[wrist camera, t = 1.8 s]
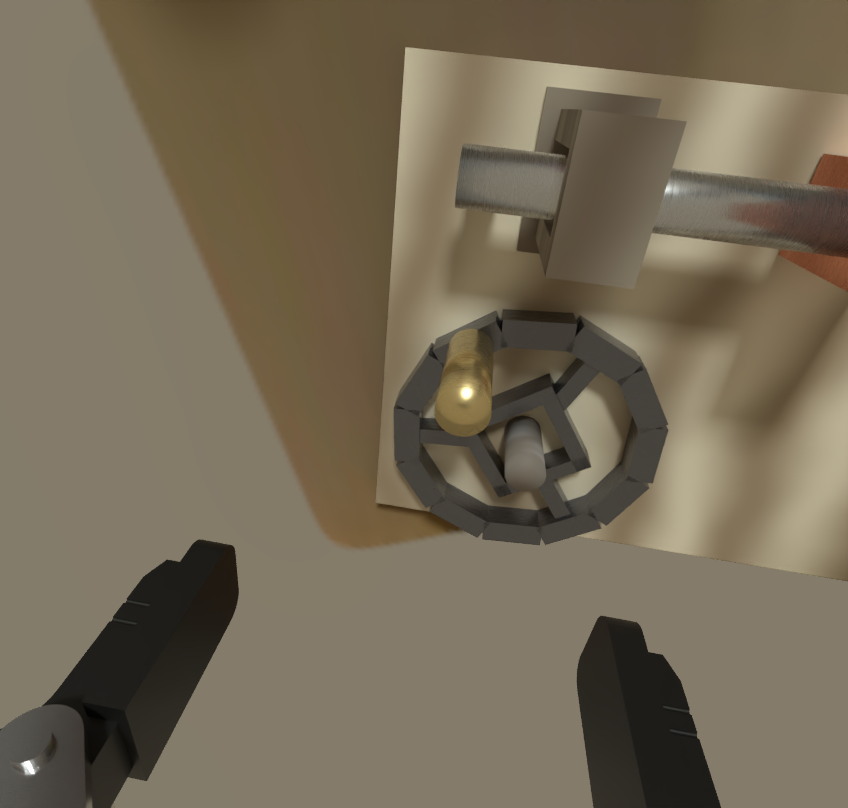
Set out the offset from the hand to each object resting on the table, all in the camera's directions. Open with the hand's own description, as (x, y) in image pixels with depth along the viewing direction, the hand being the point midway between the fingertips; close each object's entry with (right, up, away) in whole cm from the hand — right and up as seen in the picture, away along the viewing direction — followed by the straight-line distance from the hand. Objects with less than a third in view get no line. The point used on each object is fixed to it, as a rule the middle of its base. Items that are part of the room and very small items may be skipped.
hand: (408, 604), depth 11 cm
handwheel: (+6, +3, +17) cm, 18 cm away
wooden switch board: (+13, +7, +16) cm, 22 cm away
